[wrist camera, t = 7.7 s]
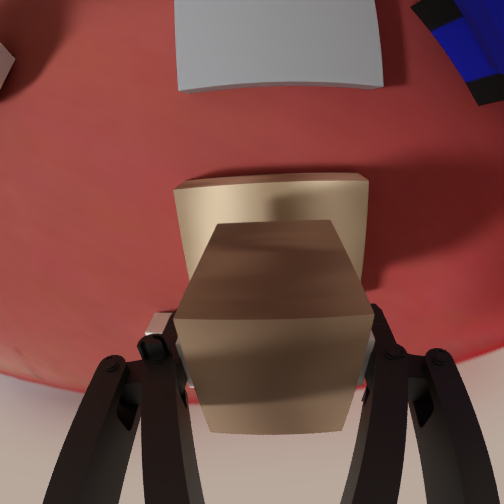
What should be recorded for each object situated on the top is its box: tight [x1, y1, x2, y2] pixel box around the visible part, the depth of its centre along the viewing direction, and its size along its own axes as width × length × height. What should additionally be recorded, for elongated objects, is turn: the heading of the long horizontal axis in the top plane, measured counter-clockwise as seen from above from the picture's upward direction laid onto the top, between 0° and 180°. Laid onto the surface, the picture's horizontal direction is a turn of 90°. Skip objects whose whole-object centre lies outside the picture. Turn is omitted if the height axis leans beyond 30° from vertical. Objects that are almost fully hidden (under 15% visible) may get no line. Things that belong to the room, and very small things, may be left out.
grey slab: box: [174, 0, 384, 94], centre depth 13 cm, size 12×10×3 cm
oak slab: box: [174, 172, 369, 282], centre depth 21 cm, size 12×10×3 cm
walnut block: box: [173, 220, 375, 435], centre depth 13 cm, size 6×7×8 cm
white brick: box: [145, 312, 172, 335], centre depth 24 cm, size 6×3×3 cm, turn 94°
